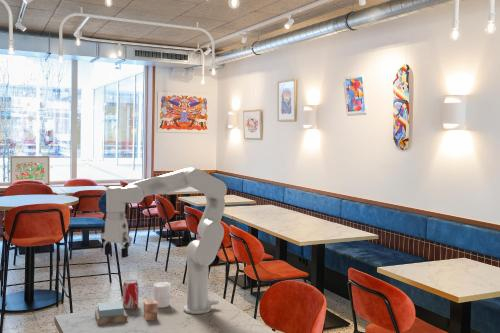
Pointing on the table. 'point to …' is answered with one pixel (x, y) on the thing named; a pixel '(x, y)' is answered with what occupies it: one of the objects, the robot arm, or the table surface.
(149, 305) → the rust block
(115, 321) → the base block
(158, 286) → the white cup
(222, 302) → the table surface
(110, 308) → the top block
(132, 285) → the soda can
